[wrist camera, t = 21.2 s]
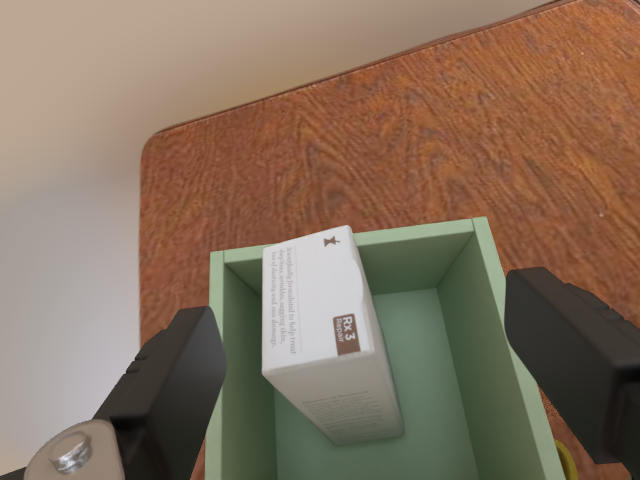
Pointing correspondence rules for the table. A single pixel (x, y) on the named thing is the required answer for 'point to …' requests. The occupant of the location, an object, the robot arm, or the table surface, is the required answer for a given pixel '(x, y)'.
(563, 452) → the key
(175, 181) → the table surface
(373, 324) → the cosmetic box
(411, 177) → the table surface
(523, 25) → the table surface
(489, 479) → the bin
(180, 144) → the table surface
